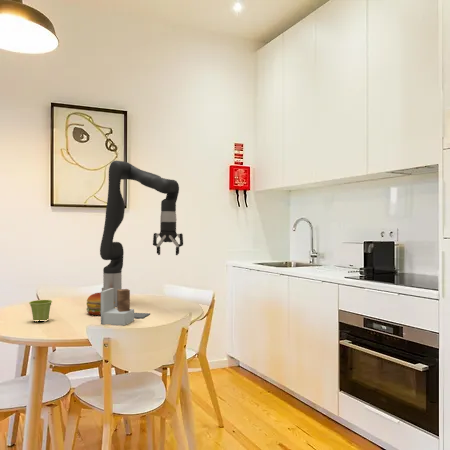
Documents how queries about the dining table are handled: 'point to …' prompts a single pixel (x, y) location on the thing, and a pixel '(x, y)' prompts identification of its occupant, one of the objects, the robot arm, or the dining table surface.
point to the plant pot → (40, 309)
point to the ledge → (113, 310)
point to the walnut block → (123, 300)
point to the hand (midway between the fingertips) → (168, 254)
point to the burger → (94, 304)
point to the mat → (141, 315)
